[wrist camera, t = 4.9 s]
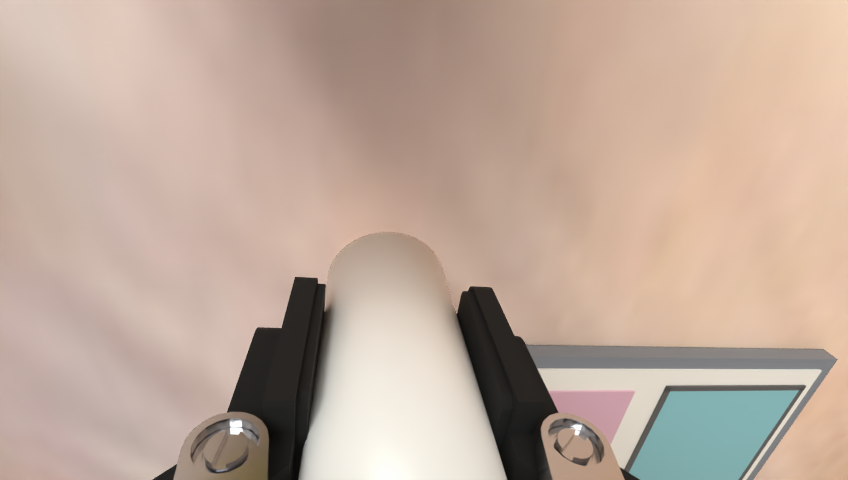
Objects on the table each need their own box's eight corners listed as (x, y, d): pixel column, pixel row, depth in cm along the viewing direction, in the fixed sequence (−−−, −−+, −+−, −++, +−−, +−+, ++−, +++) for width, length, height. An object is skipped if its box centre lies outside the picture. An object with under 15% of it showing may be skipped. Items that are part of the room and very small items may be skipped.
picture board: (823, 349, 24) (841, 362, 23) (691, 544, 31) (701, 559, 31) (494, 344, 20) (501, 359, 19) (436, 566, 28) (439, 584, 27)
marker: (456, 233, 13) (733, 891, 3) (437, 334, 15) (580, 967, 5) (326, 224, 12) (178, 1010, 3) (321, 330, 14) (221, 1052, 4)
